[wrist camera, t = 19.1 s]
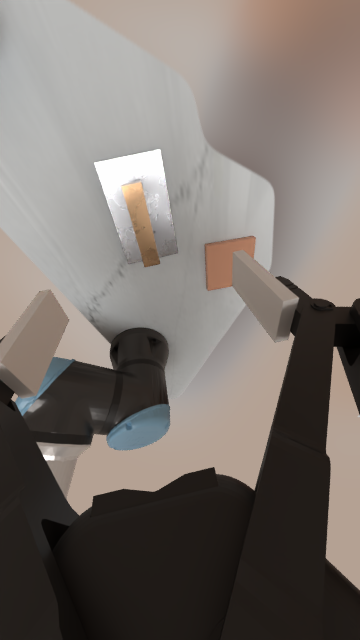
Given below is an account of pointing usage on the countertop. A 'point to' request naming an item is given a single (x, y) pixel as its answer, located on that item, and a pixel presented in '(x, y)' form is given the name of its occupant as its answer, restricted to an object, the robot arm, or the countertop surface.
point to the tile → (224, 260)
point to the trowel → (139, 205)
